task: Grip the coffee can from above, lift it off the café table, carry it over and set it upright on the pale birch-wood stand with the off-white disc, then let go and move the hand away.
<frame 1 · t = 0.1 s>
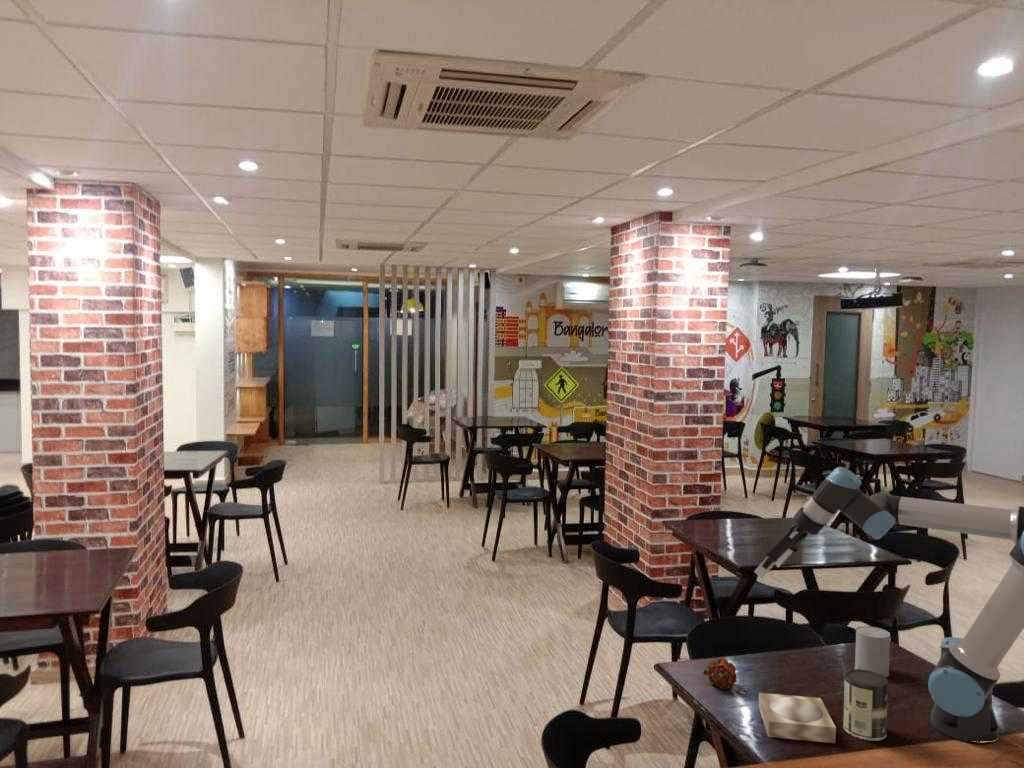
hand: (766, 569, 209), 36 cm above the table, tool tilted 35°, fingers open, 13 cm apart
coffee can: (864, 731, 190), on the table
white cylinder: (871, 671, 226), on the table
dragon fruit: (720, 685, 215), on the table
stand: (795, 724, 193), on the table
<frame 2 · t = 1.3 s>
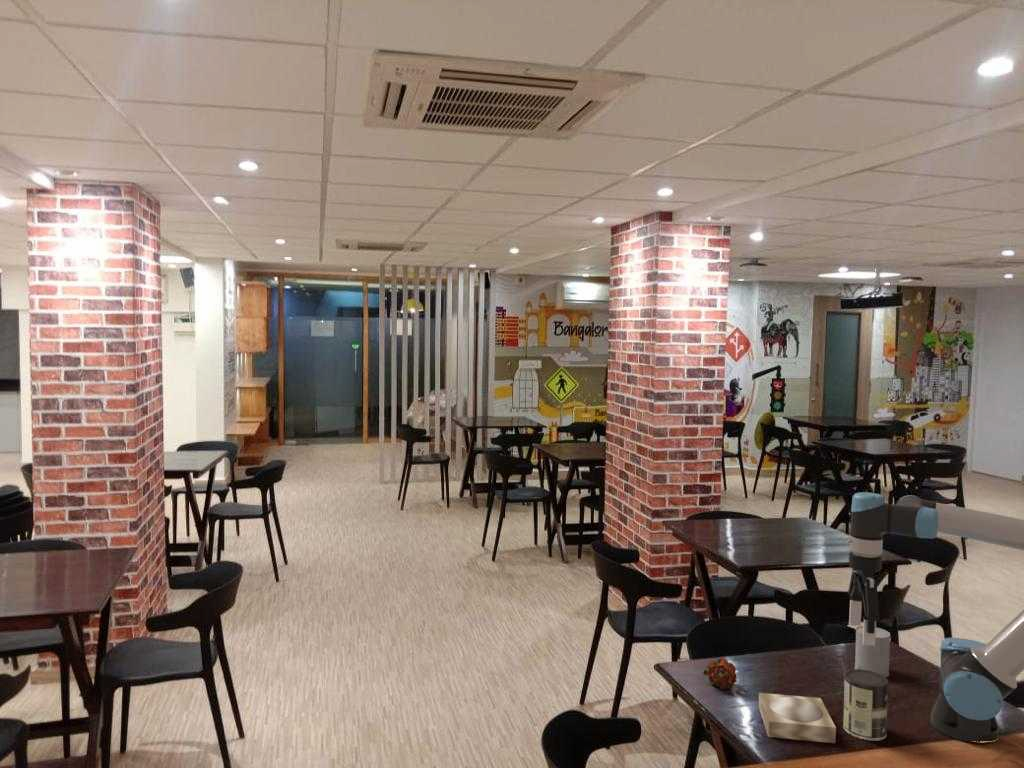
hand: (861, 634, 190), 25 cm above the table, tool pointing down, fingers open, 13 cm apart
nothing on the table moved.
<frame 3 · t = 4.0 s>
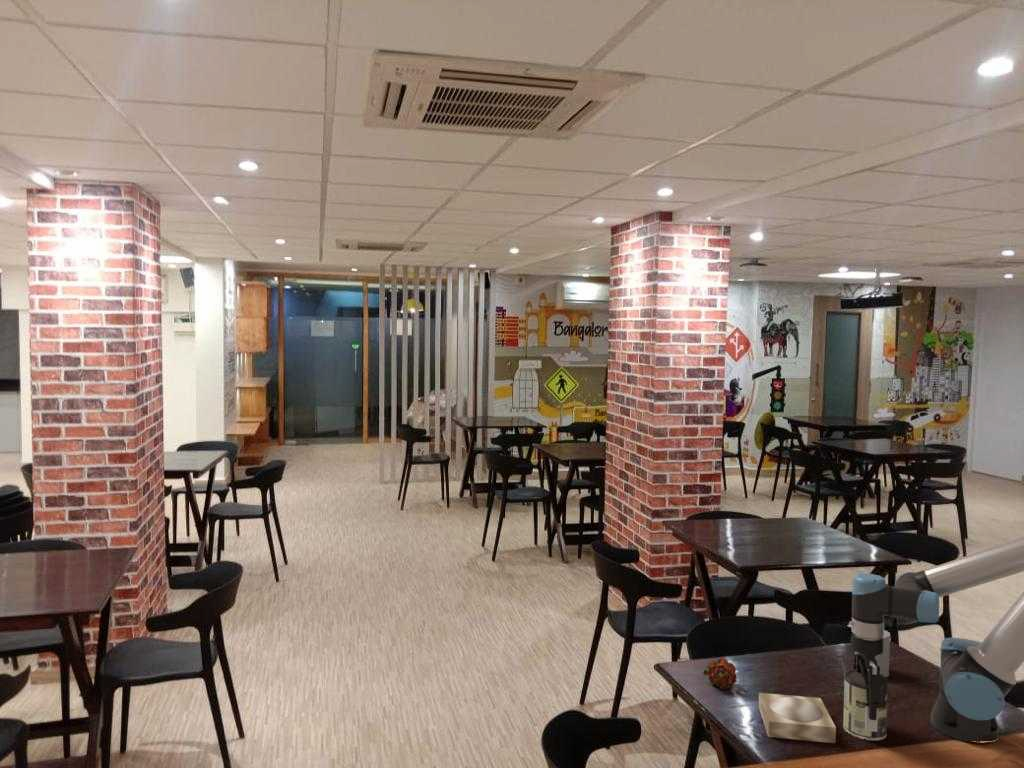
hand: (864, 720, 190), 3 cm above the table, tool pointing down, fingers closed on coffee can, 10 cm apart
coffee can: (864, 731, 190), on the table, touching gripper
everything else where it was.
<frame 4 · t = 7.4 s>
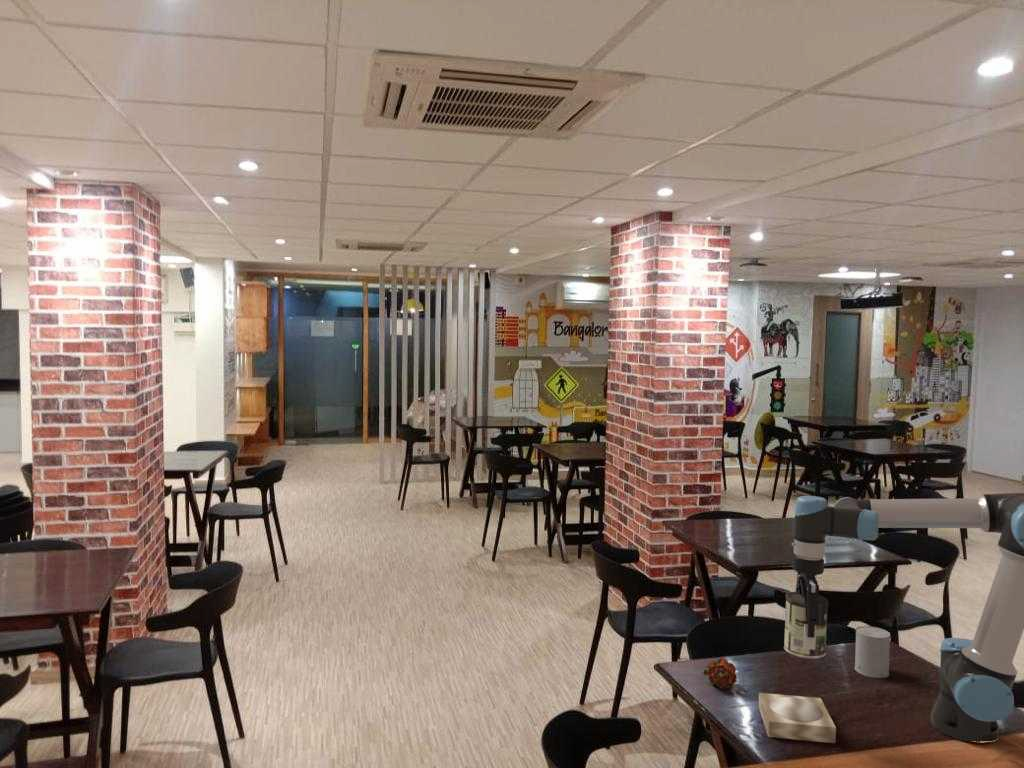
hand: (804, 640, 192), 22 cm above the table, tool pointing down, fingers closed on coffee can, 10 cm apart
coffee can: (804, 651, 192), point 19 cm above the table, touching gripper
everything else where it was.
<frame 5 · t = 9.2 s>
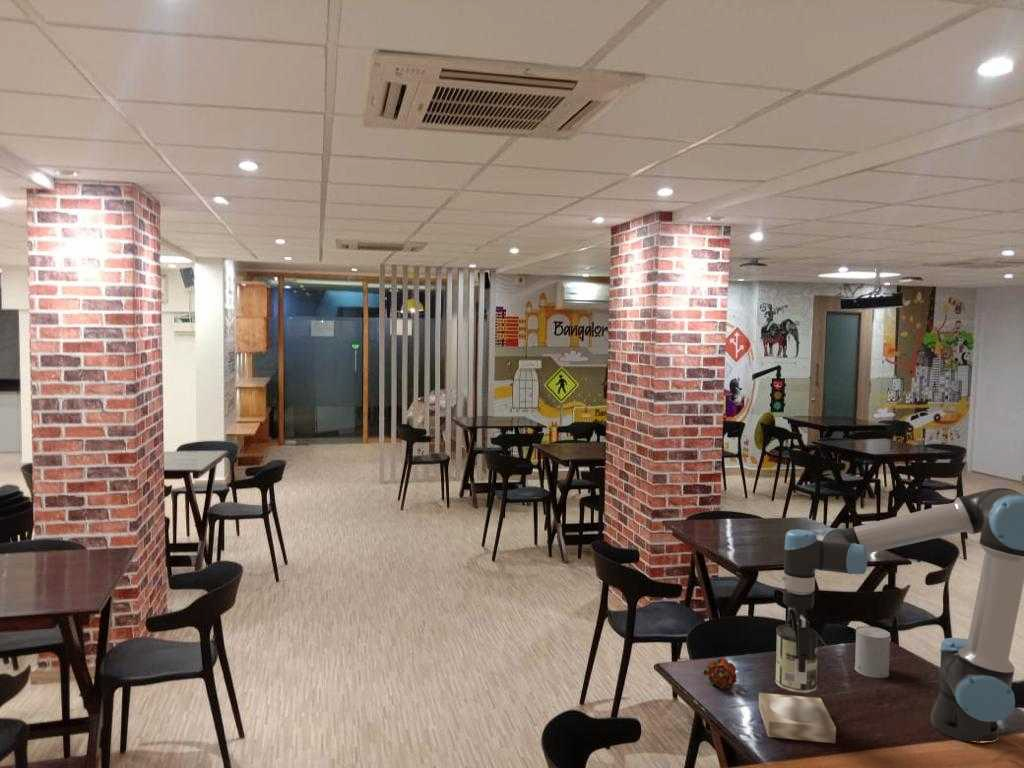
hand: (796, 674, 192), 13 cm above the table, tool pointing down, fingers closed on coffee can, 10 cm apart
coffee can: (795, 684, 192), point 10 cm above the table, touching gripper
everything else where it was.
when the fingers open (8 cm above the table, at t = 10.7 s): coffee can drops 1 cm, resting on stand.
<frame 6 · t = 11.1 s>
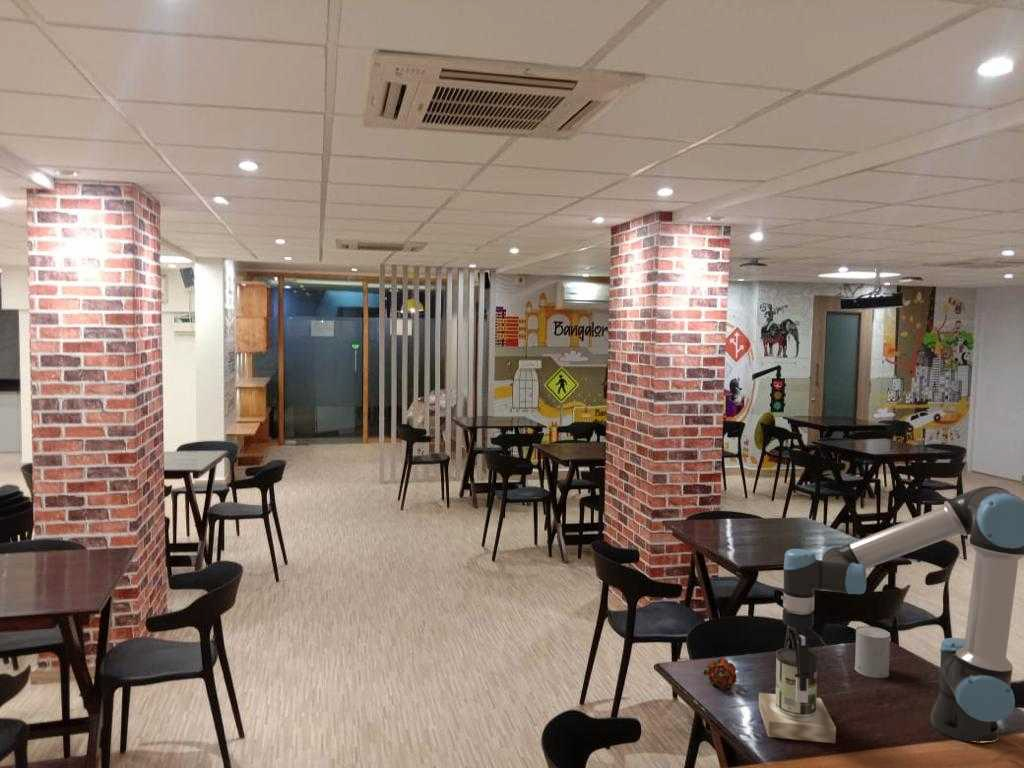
hand: (796, 689, 192), 9 cm above the table, tool pointing down, fingers open, 13 cm apart
coffee can: (795, 708, 193), point 4 cm above the table, touching stand
everything else where it was.
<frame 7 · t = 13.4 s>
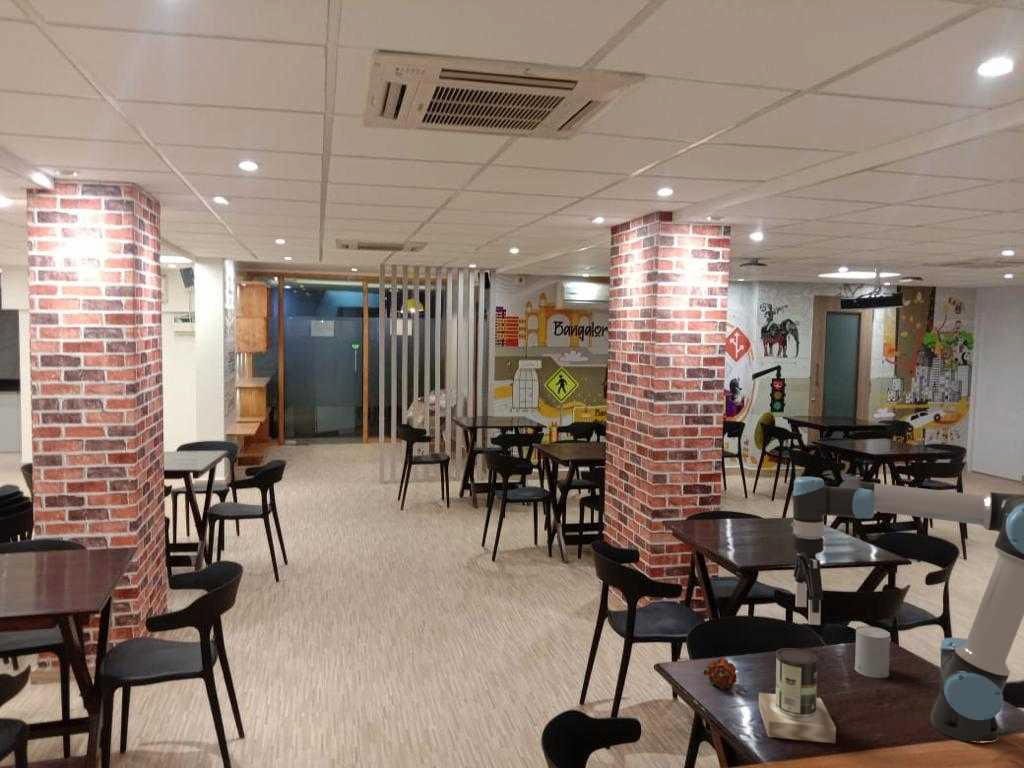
hand: (807, 615, 196), 28 cm above the table, tool pointing down, fingers open, 13 cm apart
nothing on the table moved.
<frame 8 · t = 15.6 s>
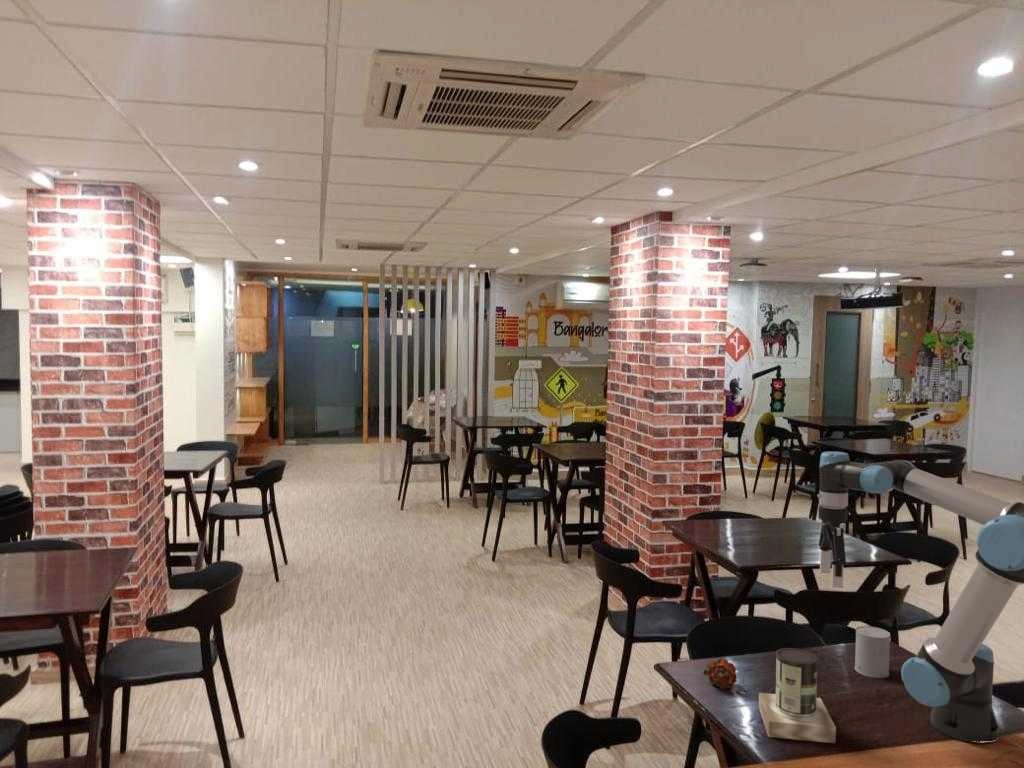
hand: (830, 580, 210), 33 cm above the table, tool pointing down, fingers open, 13 cm apart
nothing on the table moved.
at the end: coffee can inside the target area on the stand (0.3 cm from its centre), point 4.0 cm above the stand's base; coffee can tilted 0°; the gripper is holding nothing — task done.
